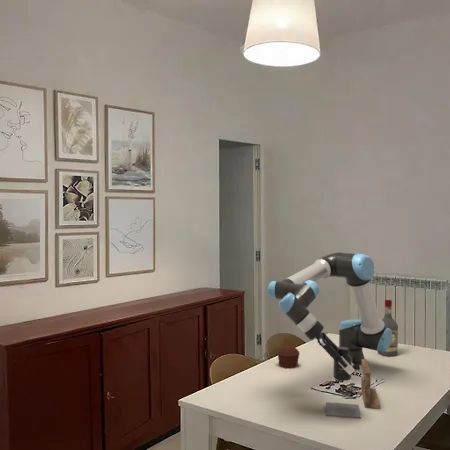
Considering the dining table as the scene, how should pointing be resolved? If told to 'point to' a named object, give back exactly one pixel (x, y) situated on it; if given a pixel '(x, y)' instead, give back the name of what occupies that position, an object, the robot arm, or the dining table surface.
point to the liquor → (394, 328)
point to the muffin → (288, 356)
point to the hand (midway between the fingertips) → (351, 369)
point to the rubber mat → (342, 410)
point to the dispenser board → (368, 387)
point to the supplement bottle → (338, 369)
